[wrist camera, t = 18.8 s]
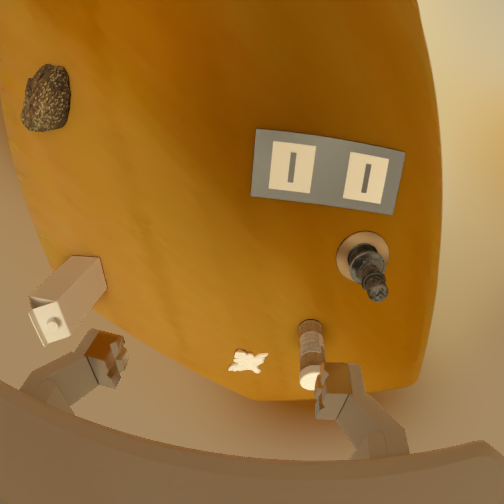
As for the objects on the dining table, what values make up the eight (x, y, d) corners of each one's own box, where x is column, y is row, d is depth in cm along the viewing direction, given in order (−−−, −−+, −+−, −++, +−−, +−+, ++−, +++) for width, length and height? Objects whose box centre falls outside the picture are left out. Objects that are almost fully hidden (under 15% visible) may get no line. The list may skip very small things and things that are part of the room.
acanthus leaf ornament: (228, 366, 64) (227, 372, 62) (232, 344, 61) (230, 351, 59) (262, 372, 64) (262, 378, 62) (268, 351, 61) (268, 357, 59)
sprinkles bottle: (320, 337, 57) (325, 391, 45) (296, 336, 57) (297, 390, 45) (323, 318, 55) (331, 373, 43) (299, 317, 55) (301, 373, 43)
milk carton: (80, 284, 57) (30, 342, 41) (72, 254, 54) (15, 309, 37) (107, 288, 57) (59, 351, 40) (100, 256, 54) (43, 316, 37)
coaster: (342, 227, 47) (342, 229, 46) (393, 234, 46) (394, 236, 46) (331, 276, 51) (331, 278, 50) (379, 281, 50) (380, 283, 50)
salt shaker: (378, 271, 49) (399, 315, 38) (345, 274, 50) (359, 320, 39) (380, 239, 46) (404, 279, 36) (345, 242, 47) (361, 284, 36)
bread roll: (68, 133, 43) (51, 138, 39) (24, 129, 43) (7, 133, 39) (79, 62, 38) (61, 61, 33) (32, 65, 37) (14, 65, 33)
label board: (256, 128, 41) (256, 128, 40) (403, 151, 40) (406, 152, 39) (251, 194, 46) (250, 196, 45) (390, 213, 45) (392, 215, 44)
